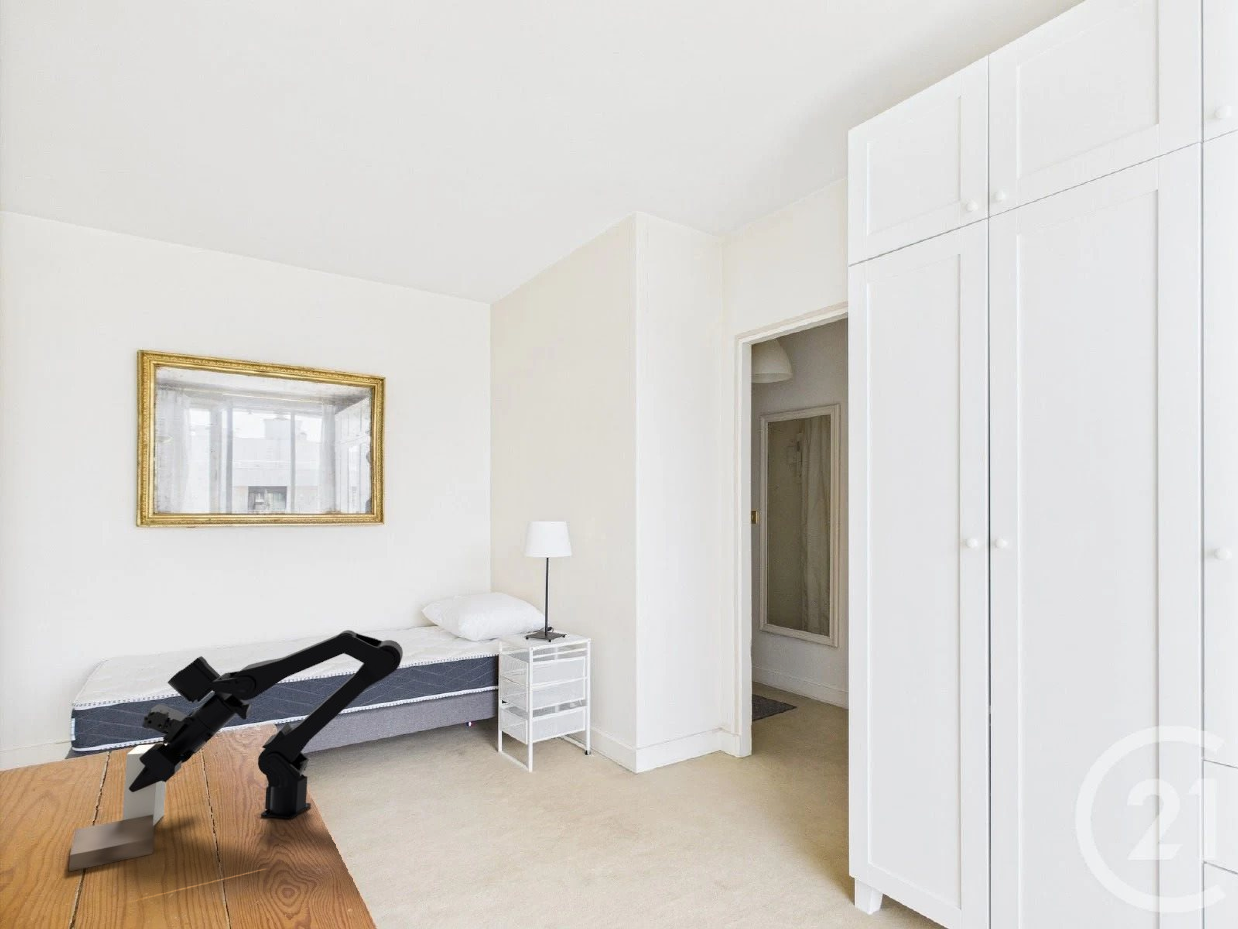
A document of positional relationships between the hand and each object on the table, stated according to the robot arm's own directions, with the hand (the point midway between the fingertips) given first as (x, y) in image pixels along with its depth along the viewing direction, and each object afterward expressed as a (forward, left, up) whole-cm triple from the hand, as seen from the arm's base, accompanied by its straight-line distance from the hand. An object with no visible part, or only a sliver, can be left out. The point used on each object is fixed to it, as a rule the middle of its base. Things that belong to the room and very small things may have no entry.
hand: (137, 784), depth 127 cm
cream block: (-1, -1, -7) cm, 7 cm away
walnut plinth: (-5, +9, -7) cm, 13 cm away
